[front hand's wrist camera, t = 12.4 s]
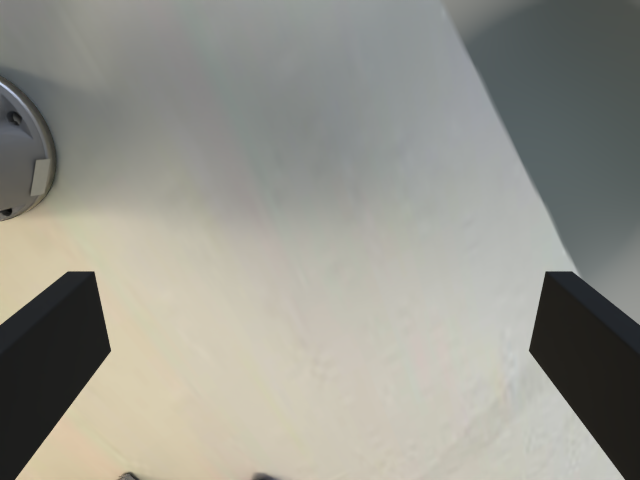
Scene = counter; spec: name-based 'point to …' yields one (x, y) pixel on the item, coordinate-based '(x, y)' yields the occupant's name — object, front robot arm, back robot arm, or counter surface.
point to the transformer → (127, 477)
